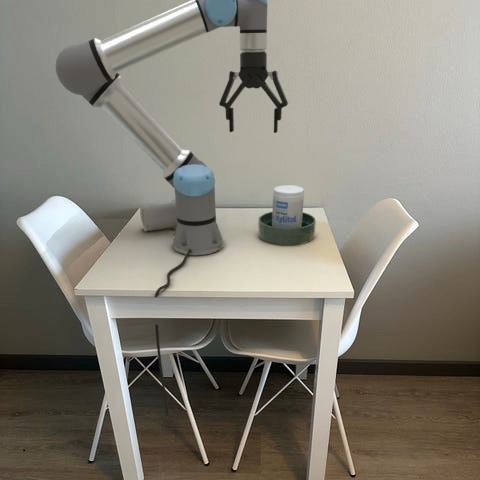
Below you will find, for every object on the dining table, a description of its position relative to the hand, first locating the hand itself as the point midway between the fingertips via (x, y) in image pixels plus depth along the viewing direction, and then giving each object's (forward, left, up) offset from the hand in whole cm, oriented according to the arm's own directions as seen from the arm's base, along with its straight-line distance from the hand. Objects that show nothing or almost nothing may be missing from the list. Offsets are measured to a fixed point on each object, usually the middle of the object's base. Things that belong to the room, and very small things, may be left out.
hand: (253, 131), depth 142 cm
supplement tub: (-9, -9, -30) cm, 33 cm away
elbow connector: (+10, +28, -31) cm, 43 cm away
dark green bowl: (-9, -9, -31) cm, 33 cm away
